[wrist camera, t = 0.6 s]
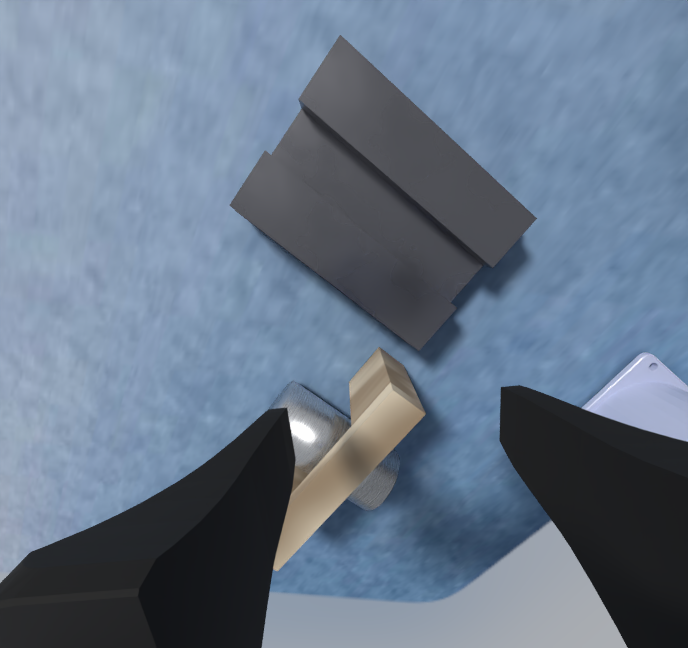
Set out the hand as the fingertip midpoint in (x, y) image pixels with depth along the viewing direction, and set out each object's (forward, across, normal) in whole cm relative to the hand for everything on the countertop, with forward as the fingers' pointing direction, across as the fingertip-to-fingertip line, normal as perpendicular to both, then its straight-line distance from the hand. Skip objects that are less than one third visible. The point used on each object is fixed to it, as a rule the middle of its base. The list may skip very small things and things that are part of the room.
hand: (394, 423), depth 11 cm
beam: (+10, +3, +6) cm, 12 cm away
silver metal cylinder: (+10, +3, +6) cm, 12 cm away
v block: (+10, -1, -7) cm, 12 cm away
